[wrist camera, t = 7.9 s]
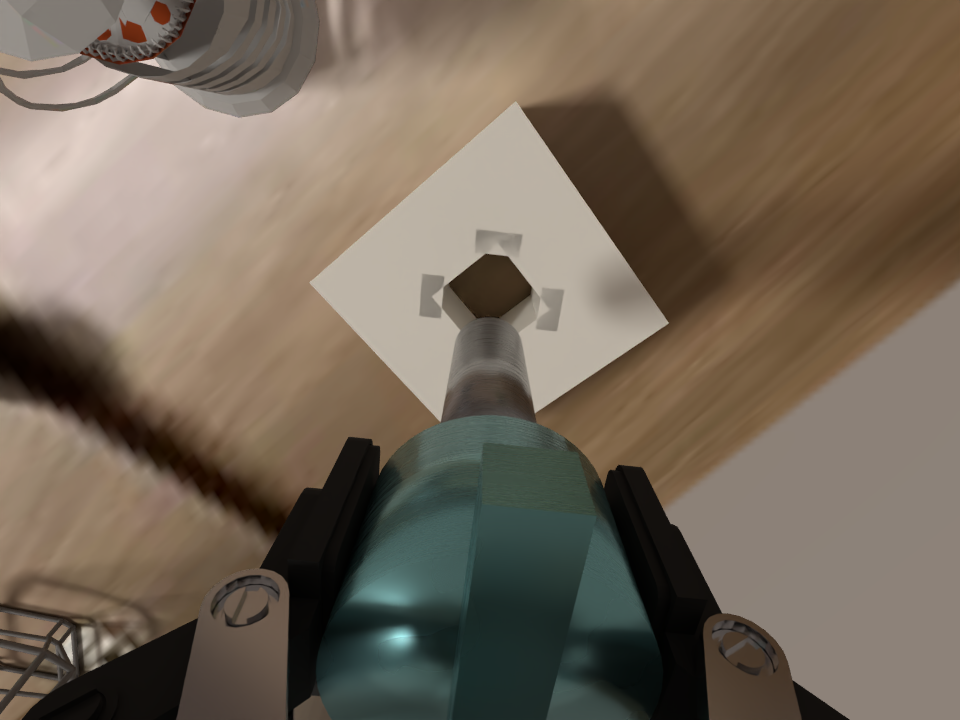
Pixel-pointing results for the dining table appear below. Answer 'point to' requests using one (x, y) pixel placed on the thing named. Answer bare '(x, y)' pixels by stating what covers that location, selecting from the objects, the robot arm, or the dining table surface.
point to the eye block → (500, 231)
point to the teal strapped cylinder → (489, 570)
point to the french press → (171, 46)
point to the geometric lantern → (40, 656)
